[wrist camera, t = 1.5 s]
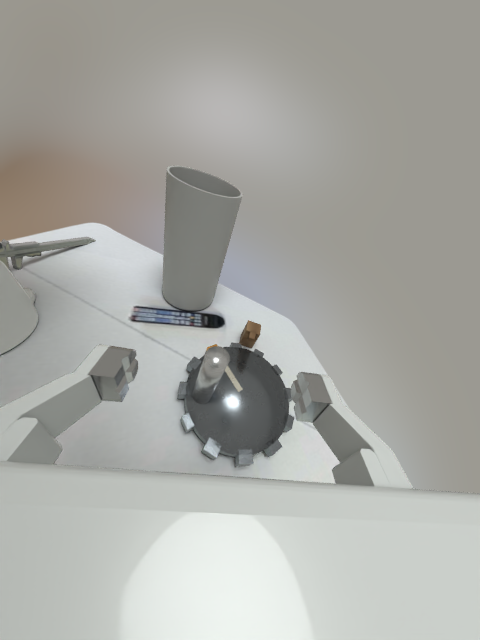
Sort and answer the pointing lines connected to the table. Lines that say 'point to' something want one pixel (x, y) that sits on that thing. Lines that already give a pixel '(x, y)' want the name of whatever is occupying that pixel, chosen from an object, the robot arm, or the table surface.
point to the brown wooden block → (250, 334)
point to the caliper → (35, 249)
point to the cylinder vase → (196, 235)
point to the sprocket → (235, 403)
